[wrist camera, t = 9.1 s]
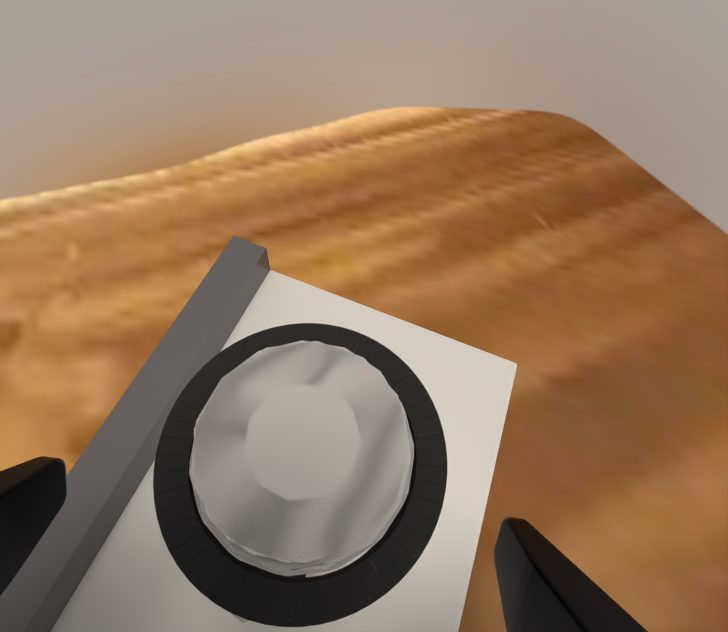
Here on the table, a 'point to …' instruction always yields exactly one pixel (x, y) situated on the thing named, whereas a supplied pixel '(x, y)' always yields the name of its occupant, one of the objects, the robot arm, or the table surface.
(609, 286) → the table surface
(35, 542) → the robot arm
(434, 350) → the marker board
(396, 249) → the table surface
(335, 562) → the push button
